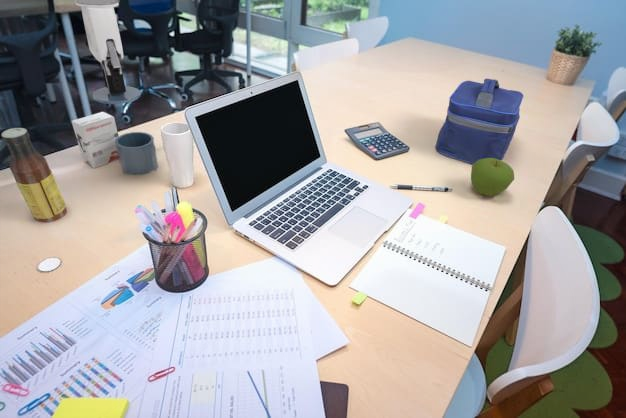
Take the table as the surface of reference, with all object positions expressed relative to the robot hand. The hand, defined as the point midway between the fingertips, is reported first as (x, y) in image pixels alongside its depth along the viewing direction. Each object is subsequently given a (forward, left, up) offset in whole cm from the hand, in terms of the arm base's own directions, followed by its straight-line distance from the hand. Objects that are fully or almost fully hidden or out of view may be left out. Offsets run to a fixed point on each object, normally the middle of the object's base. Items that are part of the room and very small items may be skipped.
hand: (115, 89), depth 86 cm
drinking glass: (+9, -9, -22) cm, 26 cm away
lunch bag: (+99, -30, -22) cm, 106 cm away
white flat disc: (-22, -25, -22) cm, 40 cm away
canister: (+2, +3, -22) cm, 23 cm away
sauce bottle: (-20, -9, -22) cm, 31 cm away
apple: (+78, -50, -22) cm, 96 cm away
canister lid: (0, 0, -2) cm, 2 cm away
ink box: (-5, +11, -22) cm, 25 cm away
